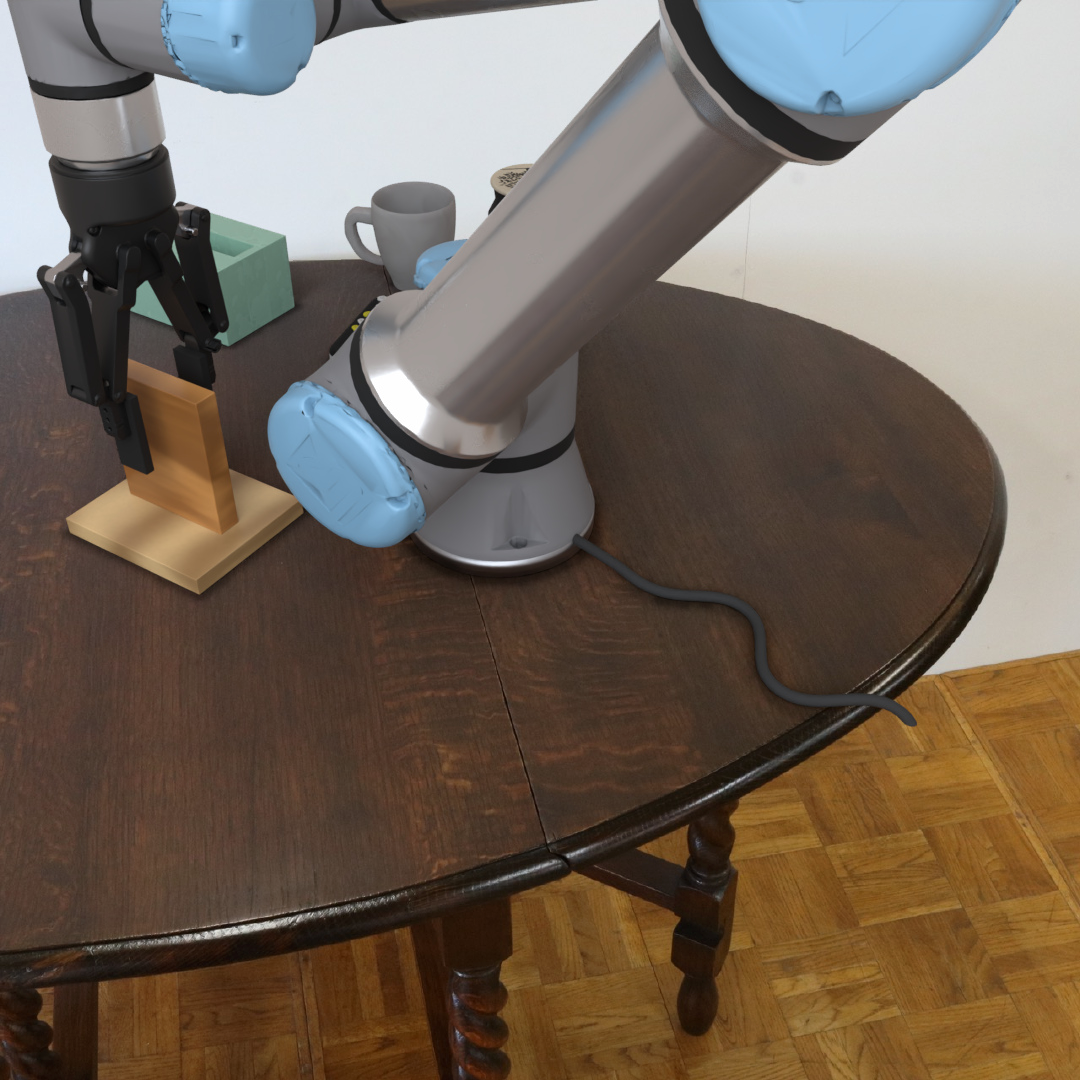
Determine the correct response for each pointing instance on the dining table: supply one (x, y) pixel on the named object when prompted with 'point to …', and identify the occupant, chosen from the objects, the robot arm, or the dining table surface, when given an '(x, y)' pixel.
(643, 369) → the dining table surface
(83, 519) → the board
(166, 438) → the toast
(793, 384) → the dining table surface
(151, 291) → the toaster
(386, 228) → the mug
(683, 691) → the dining table surface
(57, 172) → the robot arm
